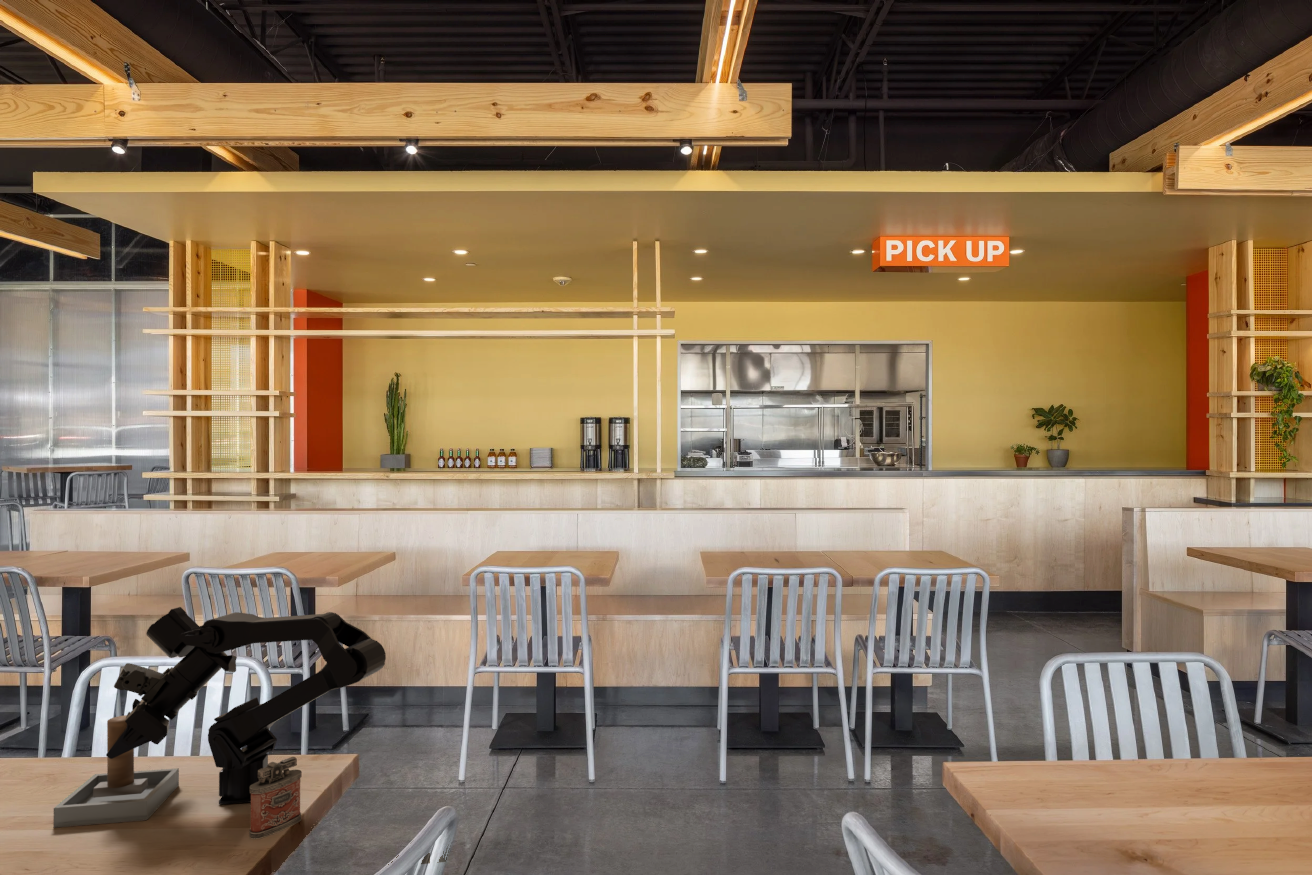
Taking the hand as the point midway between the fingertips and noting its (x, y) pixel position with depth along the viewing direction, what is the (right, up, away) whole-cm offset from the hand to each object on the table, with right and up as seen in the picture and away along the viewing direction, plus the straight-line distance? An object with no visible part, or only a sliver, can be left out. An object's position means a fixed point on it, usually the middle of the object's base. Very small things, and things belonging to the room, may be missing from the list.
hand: (110, 752), depth 130 cm
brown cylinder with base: (+1, -7, +1) cm, 7 cm away
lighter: (+30, -9, -7) cm, 32 cm away
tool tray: (+1, -9, +1) cm, 9 cm away
